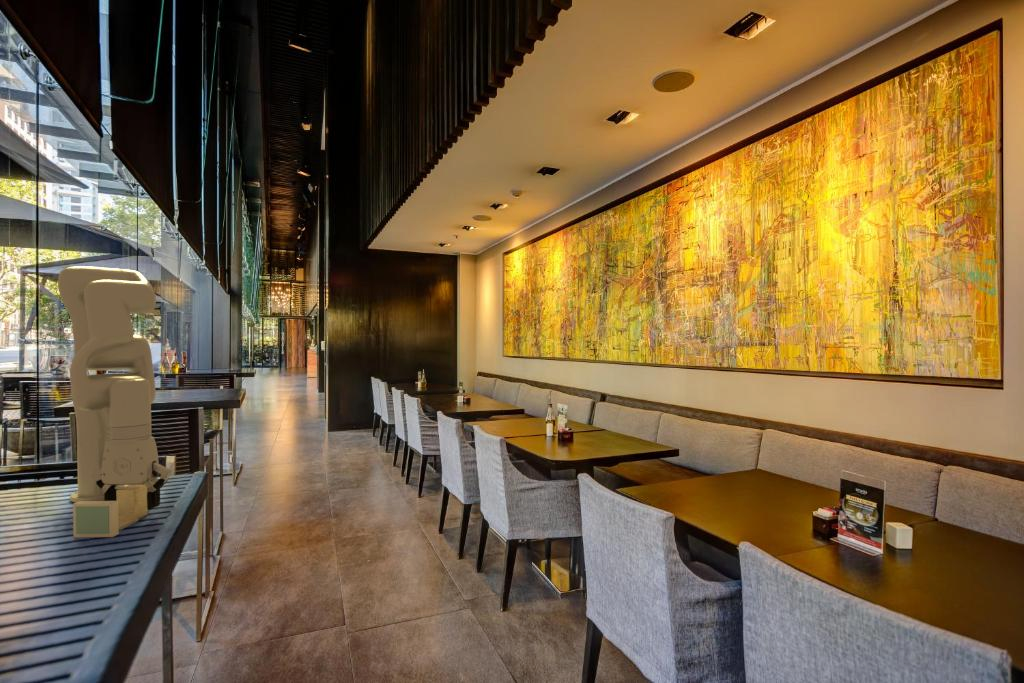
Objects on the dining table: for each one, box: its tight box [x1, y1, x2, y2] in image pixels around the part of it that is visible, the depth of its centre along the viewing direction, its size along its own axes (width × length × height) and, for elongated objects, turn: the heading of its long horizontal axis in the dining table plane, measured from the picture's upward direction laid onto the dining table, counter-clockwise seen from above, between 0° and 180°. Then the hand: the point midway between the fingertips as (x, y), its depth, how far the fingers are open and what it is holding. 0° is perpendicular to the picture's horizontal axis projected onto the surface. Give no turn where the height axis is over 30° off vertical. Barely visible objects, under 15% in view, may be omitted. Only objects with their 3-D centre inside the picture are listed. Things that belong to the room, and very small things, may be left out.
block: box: [72, 500, 120, 538], centre depth 105 cm, size 2×8×7 cm, turn 91°
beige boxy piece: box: [116, 485, 149, 531], centre depth 112 cm, size 9×6×7 cm, turn 1°
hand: (132, 507), depth 115 cm, fingers open, 9 cm apart
